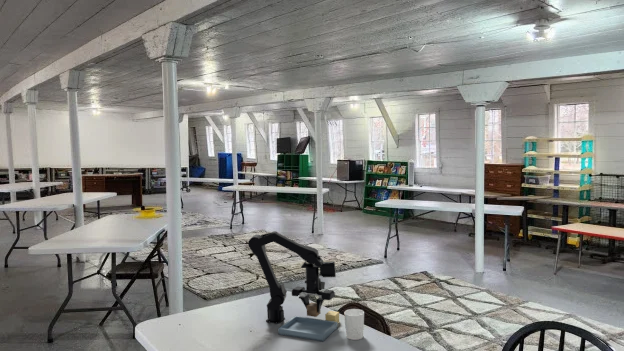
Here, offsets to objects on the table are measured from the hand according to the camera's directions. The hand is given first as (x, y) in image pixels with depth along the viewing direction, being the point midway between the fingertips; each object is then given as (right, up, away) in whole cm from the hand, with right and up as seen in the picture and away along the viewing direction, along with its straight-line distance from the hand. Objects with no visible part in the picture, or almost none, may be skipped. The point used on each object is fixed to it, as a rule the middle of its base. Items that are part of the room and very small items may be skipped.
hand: (313, 312), depth 206 cm
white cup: (+16, -5, -19) cm, 25 cm away
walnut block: (0, -1, 0) cm, 1 cm away
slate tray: (-2, -5, -11) cm, 12 cm away
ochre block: (+8, -4, -4) cm, 10 cm away
